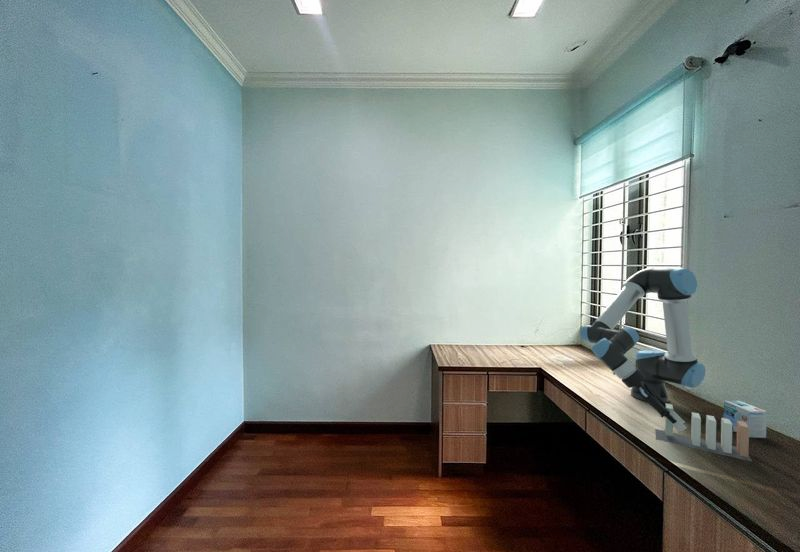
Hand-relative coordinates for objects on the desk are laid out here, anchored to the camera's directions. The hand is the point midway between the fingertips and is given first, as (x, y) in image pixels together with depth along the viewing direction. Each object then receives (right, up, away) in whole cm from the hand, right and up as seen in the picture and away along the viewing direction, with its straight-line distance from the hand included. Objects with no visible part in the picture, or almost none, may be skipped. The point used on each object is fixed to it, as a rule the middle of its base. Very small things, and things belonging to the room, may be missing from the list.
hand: (682, 426), depth 124 cm
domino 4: (+10, -5, -7) cm, 13 cm away
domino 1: (-3, -3, +2) cm, 5 cm away
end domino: (+13, -5, -9) cm, 17 cm away
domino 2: (+3, -5, -2) cm, 6 cm away
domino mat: (+4, -6, -3) cm, 7 cm away
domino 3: (+6, -5, -4) cm, 9 cm away
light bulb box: (+30, -6, +7) cm, 31 cm away
